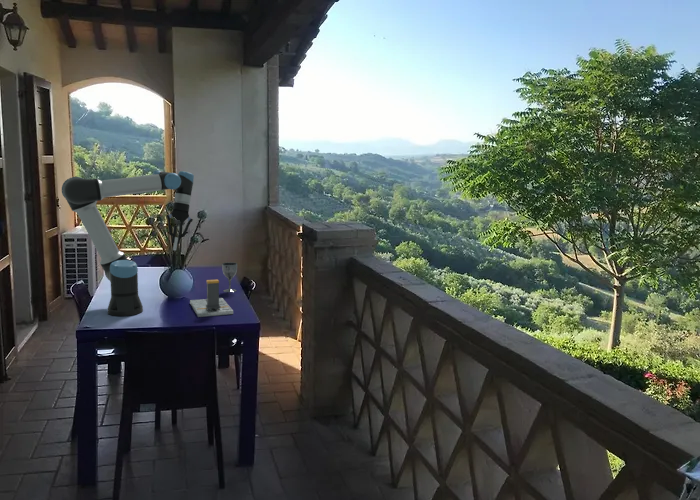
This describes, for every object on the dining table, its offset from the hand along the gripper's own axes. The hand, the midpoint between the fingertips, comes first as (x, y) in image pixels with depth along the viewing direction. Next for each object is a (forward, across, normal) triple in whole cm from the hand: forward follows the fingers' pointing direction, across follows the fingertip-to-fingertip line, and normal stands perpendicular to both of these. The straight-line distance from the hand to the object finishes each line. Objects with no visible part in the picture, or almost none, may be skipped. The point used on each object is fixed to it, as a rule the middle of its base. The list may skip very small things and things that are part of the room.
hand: (174, 250), depth 281 cm
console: (+25, -20, +13) cm, 35 cm away
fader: (+24, -20, +20) cm, 37 cm away
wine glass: (+18, -33, -21) cm, 43 cm away
